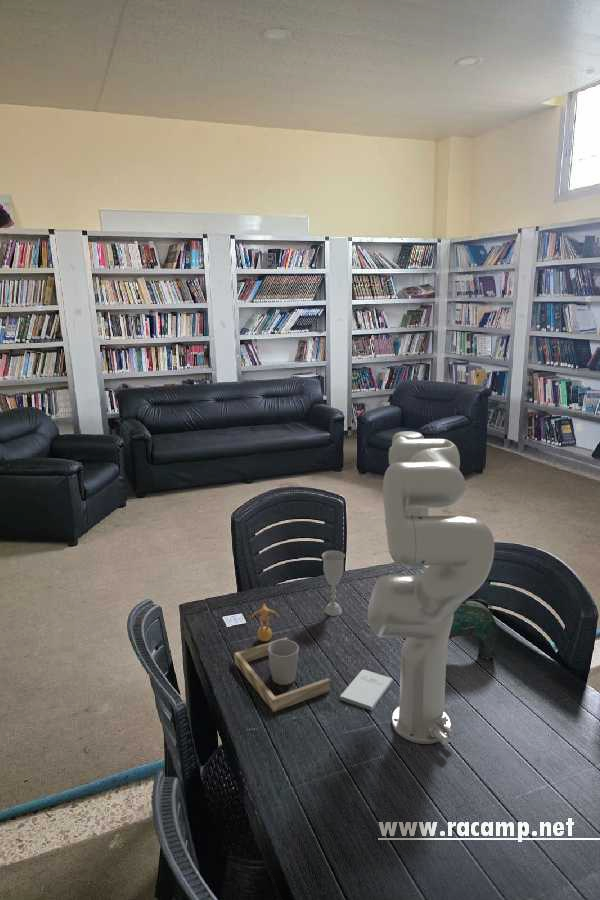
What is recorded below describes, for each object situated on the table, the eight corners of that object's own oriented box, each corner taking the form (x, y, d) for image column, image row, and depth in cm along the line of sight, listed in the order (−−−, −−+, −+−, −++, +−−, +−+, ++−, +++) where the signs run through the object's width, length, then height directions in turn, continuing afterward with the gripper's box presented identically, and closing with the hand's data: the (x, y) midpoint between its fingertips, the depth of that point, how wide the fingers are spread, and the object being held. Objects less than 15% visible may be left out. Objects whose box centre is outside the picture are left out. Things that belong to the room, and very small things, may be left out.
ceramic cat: (420, 665, 157) (423, 593, 153) (415, 650, 164) (417, 581, 159) (498, 662, 158) (503, 590, 153) (489, 648, 164) (494, 579, 159)
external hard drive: (339, 701, 145) (362, 674, 155) (371, 713, 141) (392, 683, 151) (339, 695, 144) (362, 668, 155) (372, 706, 140) (392, 677, 151)
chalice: (345, 617, 181) (345, 560, 176) (322, 617, 181) (321, 560, 177) (344, 605, 188) (344, 550, 184) (321, 605, 188) (321, 550, 184)
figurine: (279, 635, 172) (278, 595, 169) (281, 647, 166) (280, 606, 163) (249, 637, 171) (247, 598, 168) (250, 649, 165) (248, 608, 162)
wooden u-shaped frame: (329, 691, 147) (329, 680, 147) (273, 711, 140) (273, 700, 140) (286, 647, 166) (286, 637, 165) (234, 663, 159) (234, 652, 158)
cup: (268, 689, 149) (267, 657, 147) (267, 664, 158) (267, 634, 156) (300, 687, 149) (300, 655, 147) (297, 663, 159) (297, 633, 157)
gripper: (391, 492, 142) (389, 566, 146) (441, 482, 149) (438, 553, 153) (372, 484, 148) (371, 555, 153) (421, 475, 155) (418, 543, 160)
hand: (404, 554), depth 153 cm, fingers closed
